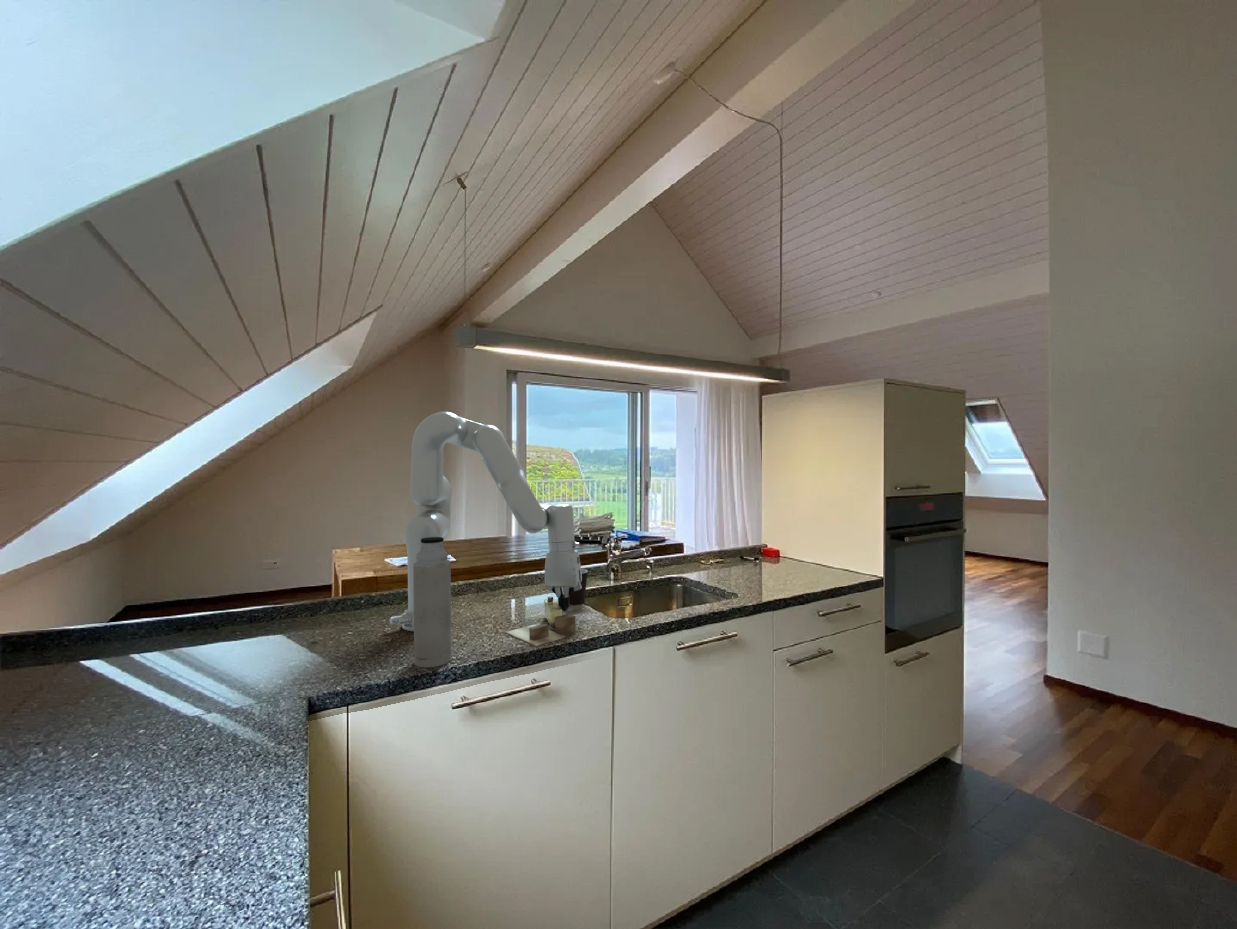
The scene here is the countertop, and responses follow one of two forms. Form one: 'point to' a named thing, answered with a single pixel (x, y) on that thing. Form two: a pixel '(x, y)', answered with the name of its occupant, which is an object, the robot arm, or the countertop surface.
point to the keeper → (539, 632)
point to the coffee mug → (579, 591)
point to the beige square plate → (524, 635)
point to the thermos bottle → (432, 604)
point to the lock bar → (552, 610)
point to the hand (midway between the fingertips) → (564, 610)
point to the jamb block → (565, 624)
